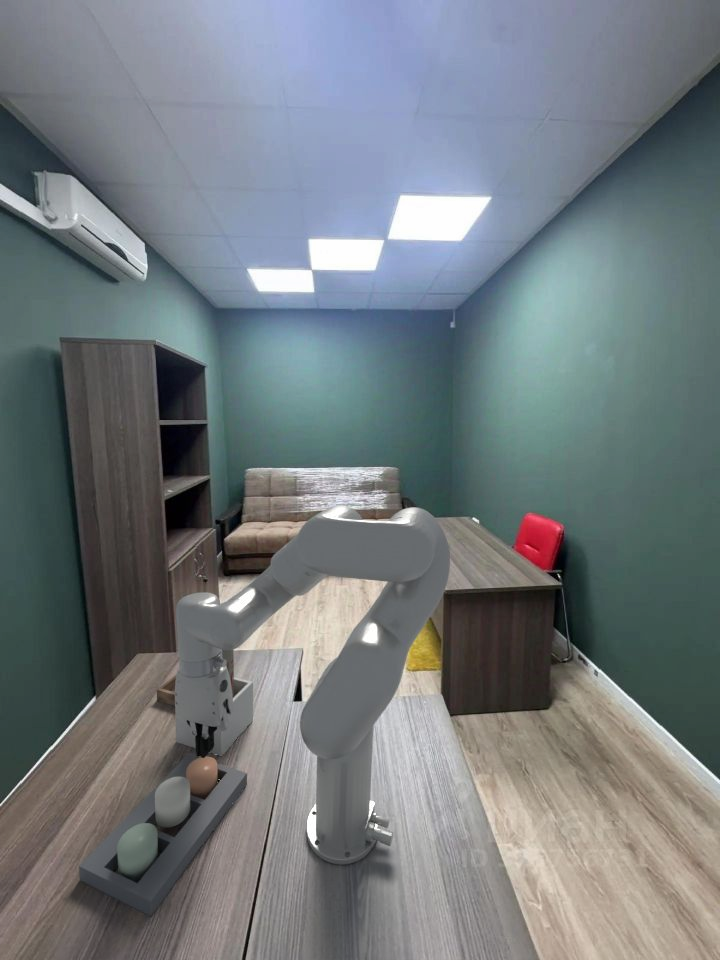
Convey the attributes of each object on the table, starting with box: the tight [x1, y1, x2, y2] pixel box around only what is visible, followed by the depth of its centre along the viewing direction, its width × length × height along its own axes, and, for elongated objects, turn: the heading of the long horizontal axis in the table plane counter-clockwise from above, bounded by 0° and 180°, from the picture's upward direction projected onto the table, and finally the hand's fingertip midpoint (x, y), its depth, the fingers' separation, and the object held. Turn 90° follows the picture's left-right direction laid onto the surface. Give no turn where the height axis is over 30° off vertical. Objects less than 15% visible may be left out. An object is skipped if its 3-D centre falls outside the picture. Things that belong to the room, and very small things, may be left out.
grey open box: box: [174, 676, 254, 757], centre depth 97 cm, size 12×12×10 cm
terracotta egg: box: [186, 755, 219, 800], centre depth 81 cm, size 6×6×4 cm
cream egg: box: [155, 777, 191, 828], centre depth 73 cm, size 6×6×4 cm
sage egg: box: [117, 823, 159, 883], centre depth 67 cm, size 6×6×4 cm
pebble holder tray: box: [78, 753, 248, 917], centre depth 74 cm, size 14×24×2 cm, turn 161°
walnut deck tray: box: [156, 675, 176, 707], centre depth 111 cm, size 13×13×3 cm
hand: (205, 751), depth 80 cm, fingers closed
